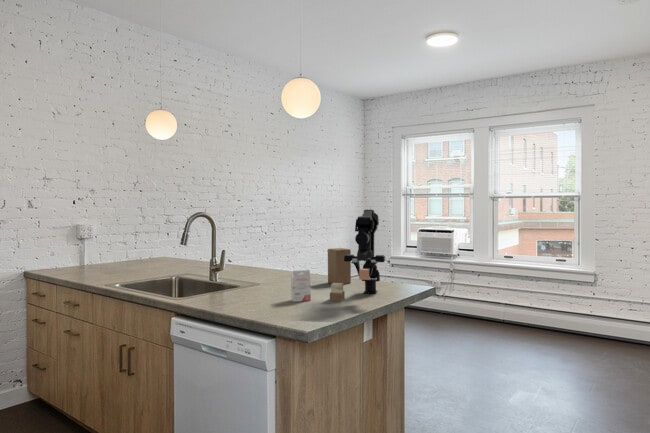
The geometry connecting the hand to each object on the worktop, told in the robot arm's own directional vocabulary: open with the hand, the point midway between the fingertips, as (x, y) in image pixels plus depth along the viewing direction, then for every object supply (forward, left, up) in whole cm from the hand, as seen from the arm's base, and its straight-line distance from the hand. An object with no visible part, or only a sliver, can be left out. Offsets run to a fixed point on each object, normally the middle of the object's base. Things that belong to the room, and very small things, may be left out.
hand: (364, 276), depth 218 cm
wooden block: (-50, -23, -12) cm, 56 cm away
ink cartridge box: (+2, -31, -12) cm, 33 cm away
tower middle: (-2, -14, -8) cm, 16 cm away
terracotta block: (0, 0, -1) cm, 1 cm away
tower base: (-2, -14, -12) cm, 18 cm away
